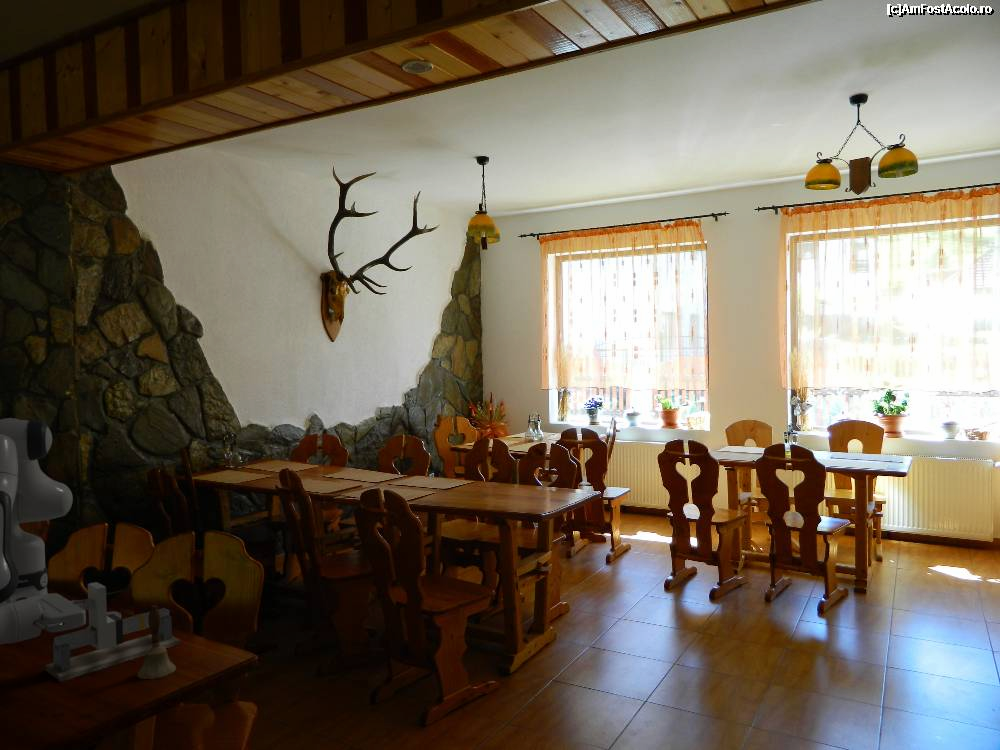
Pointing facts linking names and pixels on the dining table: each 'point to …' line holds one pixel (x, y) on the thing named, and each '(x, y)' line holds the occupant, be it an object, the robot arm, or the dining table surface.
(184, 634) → the dining table surface
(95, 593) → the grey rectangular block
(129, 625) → the grey clamp fixture
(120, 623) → the dark grey rubber pad
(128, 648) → the base board
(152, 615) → the hand bell
